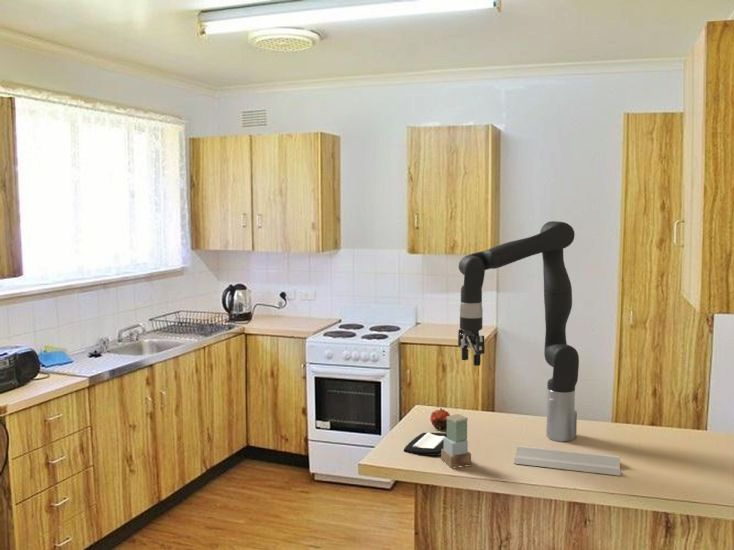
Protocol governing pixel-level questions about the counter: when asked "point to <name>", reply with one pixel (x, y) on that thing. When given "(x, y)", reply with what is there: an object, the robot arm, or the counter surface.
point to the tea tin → (456, 428)
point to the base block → (455, 459)
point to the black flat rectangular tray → (426, 444)
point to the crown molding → (568, 460)
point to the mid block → (455, 447)
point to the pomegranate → (439, 418)
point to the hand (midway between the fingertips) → (470, 362)
